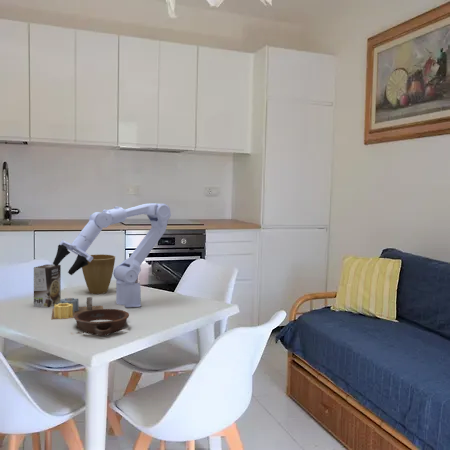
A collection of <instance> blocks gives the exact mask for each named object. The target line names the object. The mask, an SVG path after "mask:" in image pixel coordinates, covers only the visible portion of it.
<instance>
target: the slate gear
mask: <svg viewBox="0 0 450 450" xmlns="http://www.w3.org/2000/svg"><path fill="white" fill-rule="evenodd" d="M67 298H68V297H66V298H64V299H63V298H61V303H69V304H73V312H75V311H78V307H79V298H75V297H71V298H72V301H67Z"/></svg>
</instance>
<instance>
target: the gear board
mask: <svg viewBox="0 0 450 450" xmlns="http://www.w3.org/2000/svg"><path fill="white" fill-rule="evenodd" d="M66 298H67V301H72V298H73V297H66ZM96 309H104V306H103V305H93V297H91V296H89V297H88V296H87V297H86V306H78V311H75V312H73V317H69V318H62V319H61V320H65V319H67V320H68V319H74V316H75V315H76V314H77V313H80V312H83V311H88V310H96ZM50 317H51V318H50V319H51V320H60V319H59V318H54V308H53V307H52V312H51V316H50Z"/></svg>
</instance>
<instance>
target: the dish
mask: <svg viewBox="0 0 450 450" xmlns="http://www.w3.org/2000/svg"><path fill="white" fill-rule="evenodd" d="M129 316H130V314H129V312H128V311H125V310H124V309H117V308H103V309H96V310H88V311H83V312H80V313H77V314H76V315H75V316H74V318H73V319H74V320H75V321H76V325H77V328H78V329H79V330H81V331H83V333H85V334H88V335H93V336H100V337H105V336H108V335H111V334H115V333H117V332H120V331H121V330H122V328H124V327H125V325H126V323H127V320H128V318H129Z"/></svg>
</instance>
